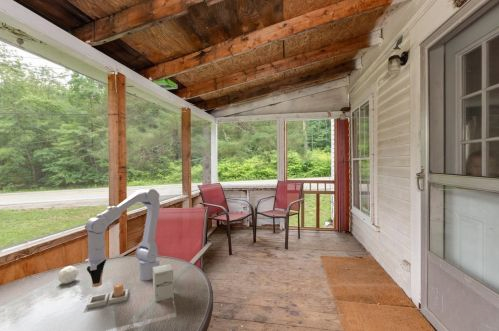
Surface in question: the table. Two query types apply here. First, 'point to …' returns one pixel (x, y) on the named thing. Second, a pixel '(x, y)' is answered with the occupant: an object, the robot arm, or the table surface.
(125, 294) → the housing
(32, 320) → the table surface
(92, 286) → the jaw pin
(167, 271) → the supplement box
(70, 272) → the ball
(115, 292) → the jaw pin
